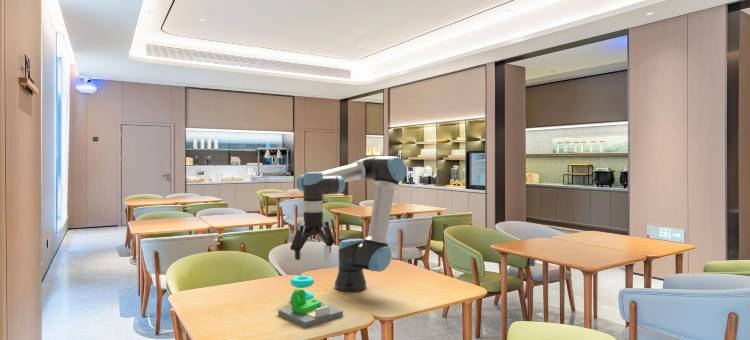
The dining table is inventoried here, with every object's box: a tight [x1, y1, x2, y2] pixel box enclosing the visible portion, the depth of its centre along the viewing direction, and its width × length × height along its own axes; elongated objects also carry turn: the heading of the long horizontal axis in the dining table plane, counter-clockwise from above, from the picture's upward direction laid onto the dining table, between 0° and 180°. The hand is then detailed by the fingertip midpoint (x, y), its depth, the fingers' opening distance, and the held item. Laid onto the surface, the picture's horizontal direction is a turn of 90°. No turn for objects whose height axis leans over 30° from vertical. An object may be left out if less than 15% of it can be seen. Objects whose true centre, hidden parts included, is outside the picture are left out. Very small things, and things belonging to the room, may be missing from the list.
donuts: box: [290, 275, 315, 302], centre depth 192 cm, size 10×10×10 cm
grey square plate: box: [277, 298, 344, 329], centre depth 174 cm, size 18×18×5 cm
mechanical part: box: [291, 288, 322, 314], centre depth 176 cm, size 12×6×8 cm, turn 145°
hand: (313, 264), depth 176 cm, fingers open, 13 cm apart
